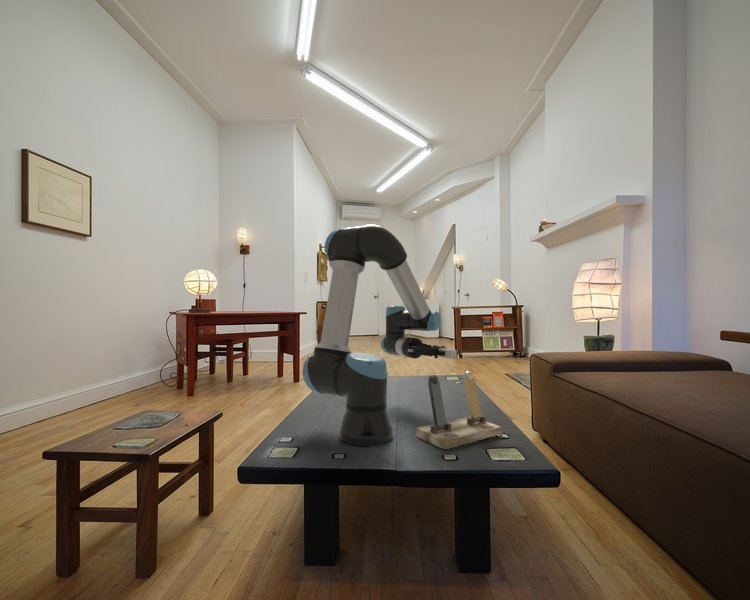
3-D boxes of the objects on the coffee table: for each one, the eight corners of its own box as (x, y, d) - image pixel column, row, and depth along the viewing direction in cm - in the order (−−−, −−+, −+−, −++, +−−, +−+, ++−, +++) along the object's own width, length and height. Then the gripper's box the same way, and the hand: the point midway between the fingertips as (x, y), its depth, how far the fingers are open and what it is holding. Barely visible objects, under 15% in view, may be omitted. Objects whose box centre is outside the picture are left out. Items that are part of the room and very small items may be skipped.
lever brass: (469, 422, 111) (460, 372, 115) (477, 421, 113) (468, 371, 116) (476, 422, 109) (467, 371, 112) (484, 420, 110) (474, 370, 114)
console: (416, 436, 106) (416, 421, 106) (471, 424, 118) (471, 410, 118) (445, 450, 96) (445, 433, 96) (501, 435, 108) (501, 420, 108)
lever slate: (433, 430, 104) (425, 376, 107) (442, 428, 105) (433, 375, 109) (440, 430, 101) (431, 375, 105) (449, 428, 103) (439, 374, 107)
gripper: (423, 356, 143) (469, 364, 123) (395, 358, 136) (438, 367, 116) (423, 336, 143) (469, 341, 123) (395, 338, 136) (438, 343, 116)
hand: (454, 354), depth 119 cm, fingers closed
